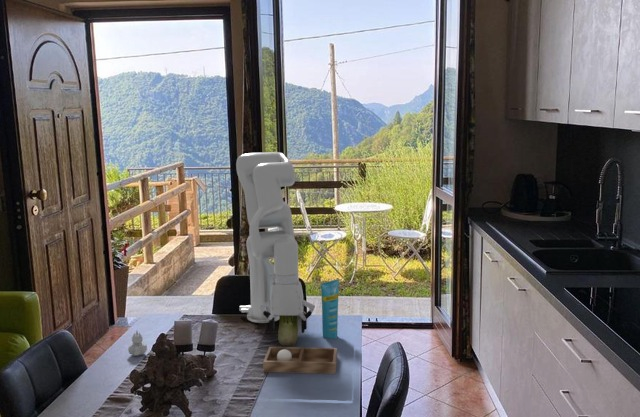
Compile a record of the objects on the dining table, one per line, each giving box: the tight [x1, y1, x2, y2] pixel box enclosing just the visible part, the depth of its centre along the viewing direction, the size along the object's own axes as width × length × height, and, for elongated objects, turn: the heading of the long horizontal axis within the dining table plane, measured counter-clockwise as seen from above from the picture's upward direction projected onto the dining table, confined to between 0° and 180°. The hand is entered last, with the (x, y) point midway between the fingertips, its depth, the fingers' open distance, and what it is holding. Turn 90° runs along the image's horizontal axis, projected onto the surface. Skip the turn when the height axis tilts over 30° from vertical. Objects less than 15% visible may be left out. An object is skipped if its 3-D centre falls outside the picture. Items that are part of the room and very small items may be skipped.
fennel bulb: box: [277, 316, 299, 347], centre depth 175 cm, size 6×5×12 cm
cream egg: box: [277, 349, 292, 361], centre depth 161 cm, size 4×4×4 cm
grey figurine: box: [128, 330, 148, 357], centre depth 169 cm, size 5×7×8 cm
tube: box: [320, 278, 340, 340], centre depth 182 cm, size 7×5×19 cm, turn 134°
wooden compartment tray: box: [262, 346, 338, 375], centre depth 161 cm, size 20×11×4 cm, turn 86°
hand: (288, 331), depth 175 cm, fingers open, 9 cm apart
